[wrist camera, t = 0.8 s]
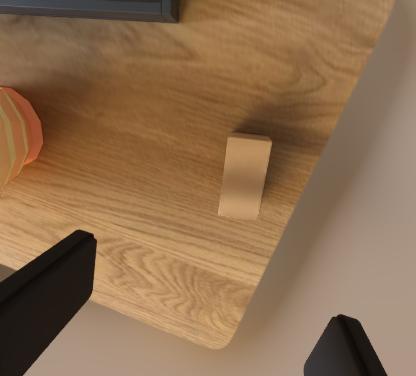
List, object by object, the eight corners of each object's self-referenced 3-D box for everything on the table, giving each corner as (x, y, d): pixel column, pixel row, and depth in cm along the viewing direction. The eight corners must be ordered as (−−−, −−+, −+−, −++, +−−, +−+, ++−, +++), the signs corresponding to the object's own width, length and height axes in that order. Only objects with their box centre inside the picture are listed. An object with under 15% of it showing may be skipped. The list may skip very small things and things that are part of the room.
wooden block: (232, 131, 23) (227, 136, 19) (268, 135, 22) (272, 141, 18) (223, 197, 25) (218, 215, 21) (256, 202, 25) (257, 222, 20)
